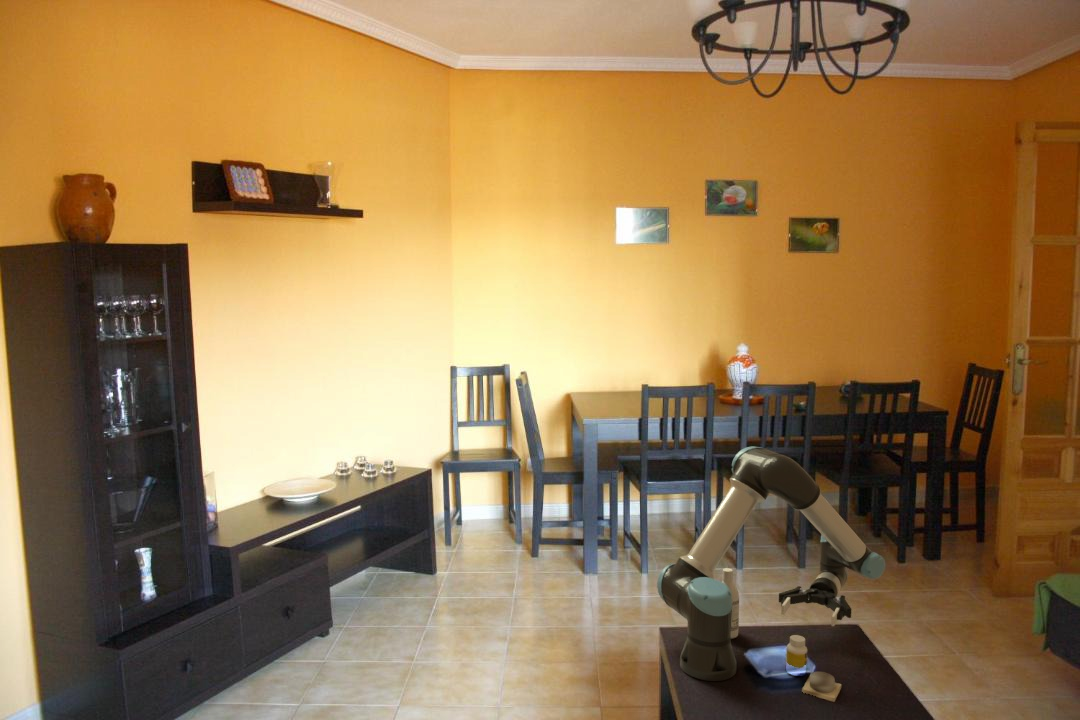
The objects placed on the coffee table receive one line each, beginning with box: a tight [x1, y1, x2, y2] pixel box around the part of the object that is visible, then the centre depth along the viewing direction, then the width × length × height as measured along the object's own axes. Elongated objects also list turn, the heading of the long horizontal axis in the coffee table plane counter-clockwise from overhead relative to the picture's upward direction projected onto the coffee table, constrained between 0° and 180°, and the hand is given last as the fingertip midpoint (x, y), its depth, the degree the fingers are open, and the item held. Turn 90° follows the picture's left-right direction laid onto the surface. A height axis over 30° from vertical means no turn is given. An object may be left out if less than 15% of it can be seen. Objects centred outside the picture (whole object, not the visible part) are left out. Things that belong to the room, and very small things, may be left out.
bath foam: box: [721, 567, 740, 640], centre depth 229 cm, size 7×7×20 cm
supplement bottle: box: [785, 634, 808, 668], centre depth 208 cm, size 5×5×10 cm
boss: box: [801, 671, 842, 703], centre depth 199 cm, size 8×8×4 cm
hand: (807, 615), depth 215 cm, fingers open, 13 cm apart
